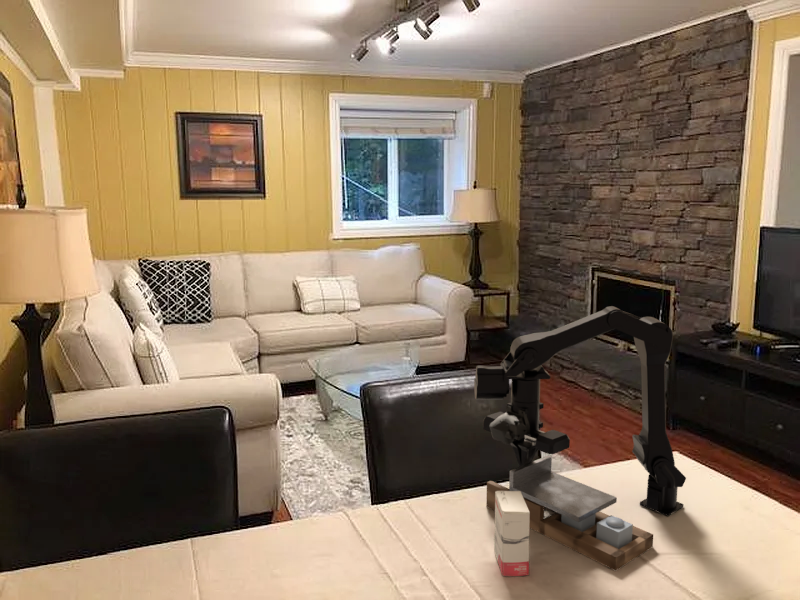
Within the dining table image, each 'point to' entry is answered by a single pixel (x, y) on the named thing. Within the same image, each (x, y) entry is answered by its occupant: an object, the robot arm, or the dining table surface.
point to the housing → (580, 534)
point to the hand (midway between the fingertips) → (523, 471)
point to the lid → (557, 490)
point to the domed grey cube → (614, 531)
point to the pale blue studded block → (580, 525)
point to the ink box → (511, 533)
